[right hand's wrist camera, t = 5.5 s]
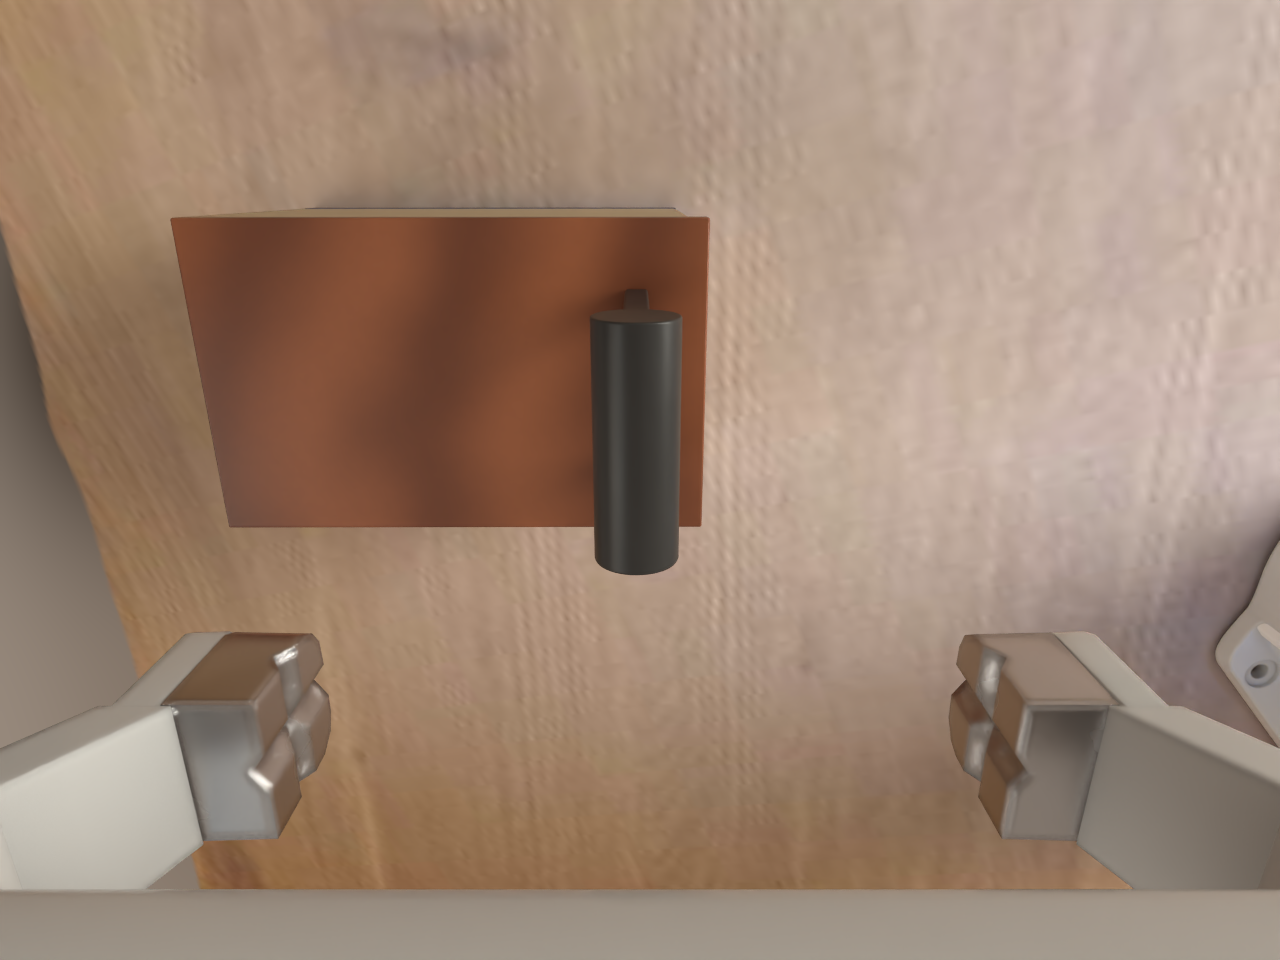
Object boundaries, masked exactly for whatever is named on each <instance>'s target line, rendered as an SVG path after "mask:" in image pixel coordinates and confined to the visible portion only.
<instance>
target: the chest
mask: <svg viewBox="0 0 1280 960" xmlns="http://www.w3.org/2000/svg"><path fill="white" fill-rule="evenodd" d="M193 217H687V216H686V215H684V214H682V213H681V212H679V211H677V210H676V209H675V208H307V209H297V210H283V211H268V212H253V213H238V214H223V215H208V216H193Z"/></svg>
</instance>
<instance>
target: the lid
mask: <svg viewBox="0 0 1280 960" xmlns="http://www.w3.org/2000/svg"><path fill="white" fill-rule="evenodd" d="M171 225H172V230H173V236H174V241H175V246H176V251H177V256H178V262H179V267H180V272H181V277H182V282H183V288H184V293H185V298H186V303H187V308H188V314H189V319H190V324H191V329H192V335H193V340H194V345H195V350H196V355H197V361H198V366H199V371H200V376H201V381H202V387H203V392H204V397H205V402H206V407H207V413H208V418H209V423H210V428H211V434H212V439H213V444H214V449H215V454H216V460H217V465H218V470H219V475H220V480H221V486H222V491H223V496H224V501H225V507H226V512H227V517H228V522H229V527H594V540H595V559H596V561H597V563H598V564H599V565H600V566H601V567H603V568H605V569H606V570H609V571H612V572H615V573H619V574H625V575H647V574H654V573H658V572H661V571H664V570H666V569H668V568H670V567H672V566H673V565H674V564H675V563H676V561H677V559H678V544H679V527H700V526H701V521H702V485H703V449H704V414H705V378H706V342H707V306H708V270H709V235H710V219H709V218H708V217H178V218H171Z"/></svg>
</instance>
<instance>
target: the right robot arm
mask: <svg viewBox="0 0 1280 960" xmlns="http://www.w3.org/2000/svg"><path fill="white" fill-rule="evenodd" d="M1215 658H1216V661H1217V663H1218V665H1219V666H1220V667H1221V669H1222V670H1223V672H1224V673H1225V674H1226V676H1227V677H1228V678H1229V680H1230V681H1231V683H1232V684H1233V685H1234V687H1235V688H1236V690H1237V691H1238V692H1239V694H1240V695H1241V696H1242V698H1243V699H1244V701H1245V702H1246V703H1247V705H1248V706H1249V708H1250V709H1251V710H1252V712H1253V713H1254V714H1255V716H1256V717H1257V719H1258V720H1259V721H1260V723H1261V724H1262V725H1263V727H1264V728H1265V730H1266V731H1267V732H1268V734H1269V735H1270V737H1271V738H1272V739H1273V741H1274V742H1275V743H1276V745H1277V746H1278V748H1277V747H1275V746H1273V745H1270V744H1268V743H1266V742H1263V741H1261V740H1259V739H1256V738H1254V737H1252V736H1250V735H1247V734H1245V733H1243V732H1240V731H1238V730H1236V729H1234V728H1231V727H1229V726H1227V725H1224V724H1222V723H1220V722H1217V721H1215V720H1213V719H1211V718H1208V717H1206V716H1204V715H1201V714H1199V713H1197V712H1195V711H1192V710H1190V709H1188V708H1185V707H1183V706H1168V705H1167V704H1166V703H1165V702H1164V701H1163V700H1162V699H1161V698H1160V697H1159V696H1158V695H1157V694H1156V693H1155V692H1154V691H1153V690H1152V689H1151V688H1150V687H1149V686H1148V685H1147V684H1146V683H1145V682H1144V681H1143V680H1142V679H1141V678H1139V677H1138V676H1137V675H1136V674H1135V673H1134V672H1133V671H1132V670H1131V669H1130V668H1129V667H1128V666H1127V665H1126V664H1125V663H1124V662H1123V661H1122V660H1121V659H1120V658H1119V657H1118V656H1117V655H1116V654H1115V653H1114V652H1113V651H1112V650H1111V649H1110V648H1109V647H1108V646H1107V645H1106V644H1105V643H1104V642H1102V641H1101V640H1100V639H1099V638H1098V637H1097V636H1096V635H1094V634H1091V633H1089V632H1086V631H1078V632H1054V633H1012V634H974V635H965V636H964V638H963V640H962V642H961V644H960V647H959V652H958V658H957V663H956V665H957V666H958V668H959V669H960V671H961V672H962V674H963V676H964V677H965V679H966V680H965V681H964V682H963V683H962V684H961V685H960V687H959V688H958V689H957V690H956V691H955V692H954V693H953V694H952V695H951V703H950V712H949V725H950V736H951V742H952V745H953V748H954V751H955V755H956V757H957V759H958V761H959V763H960V765H961V766H962V768H963V770H964V771H965V772H967V773H968V774H970V775H971V776H973V777H974V778H976V779H977V780H979V781H980V782H981V784H980V790H979V795H978V797H979V799H980V801H981V803H982V804H983V806H984V808H985V810H986V812H987V813H988V815H989V817H990V819H991V820H992V822H993V824H994V826H995V827H996V829H997V831H998V833H999V835H1000V836H1001V838H1002V839H1029V840H1065V841H1077V845H1078V846H1079V847H1081V848H1082V849H1083V850H1085V851H1086V852H1087V853H1088V854H1090V855H1091V856H1092V857H1094V858H1095V859H1096V860H1097V861H1099V862H1100V863H1101V864H1103V865H1104V866H1105V867H1106V868H1108V869H1109V870H1110V871H1112V872H1113V873H1114V874H1115V875H1117V876H1118V877H1119V878H1121V879H1122V880H1123V881H1124V882H1126V883H1127V884H1128V885H1130V886H1131V887H1132V888H1133V889H147V888H148V887H149V886H151V885H152V884H153V883H154V882H156V881H157V880H158V879H160V878H161V877H162V876H163V875H165V874H166V873H167V872H169V871H170V870H171V869H173V868H174V867H175V866H176V865H178V864H179V863H180V862H182V861H183V860H184V859H185V858H187V857H188V856H189V855H191V854H192V853H193V852H194V851H196V850H197V849H198V848H200V847H201V846H202V845H203V841H215V840H250V839H278V838H279V836H280V835H281V833H282V831H283V829H284V828H285V826H286V824H287V822H288V820H289V819H290V817H291V815H292V813H293V812H294V810H295V808H296V806H297V804H298V803H299V801H300V799H301V797H302V795H301V790H300V784H299V782H300V781H301V780H303V779H304V778H306V777H307V776H309V775H310V774H312V773H313V772H315V771H316V770H317V768H318V766H319V764H320V763H321V761H322V759H323V757H324V755H325V752H326V748H327V744H328V739H329V735H330V731H331V709H330V702H329V695H328V694H327V693H326V692H325V691H324V690H323V689H322V688H321V687H320V686H319V684H318V683H317V682H316V681H315V680H314V679H315V677H316V676H317V674H318V672H319V671H320V669H321V668H322V666H323V665H324V664H323V658H322V653H321V648H320V643H319V641H318V640H317V639H316V638H315V636H314V635H313V634H303V633H252V632H235V633H232V632H195V633H189V634H185V635H184V636H183V637H182V638H181V639H180V640H179V641H178V642H177V643H176V644H175V645H174V646H173V647H172V648H171V649H170V650H168V651H167V652H166V653H165V654H164V655H163V656H162V657H161V658H160V659H159V660H158V661H157V662H156V663H155V664H154V665H153V666H152V667H151V668H150V669H149V670H148V671H147V672H146V673H145V674H144V675H143V676H142V677H141V678H140V679H139V680H138V681H137V682H135V683H134V684H133V685H132V686H131V687H130V688H129V689H128V690H127V691H126V692H125V693H124V694H123V695H122V696H121V697H120V698H119V699H118V700H117V701H116V702H115V703H114V704H113V705H112V706H97V707H95V708H92V709H90V710H88V711H85V712H83V713H81V714H79V715H76V716H74V717H72V718H69V719H67V720H65V721H62V722H60V723H58V724H56V725H53V726H51V727H49V728H46V729H44V730H42V731H39V732H37V733H35V734H33V735H30V736H28V737H26V738H23V739H21V740H19V741H16V742H14V743H12V744H10V745H7V746H5V747H3V748H0V960H1280V541H1279V542H1278V544H1277V545H1276V547H1275V548H1274V550H1273V552H1272V553H1271V555H1270V557H1269V559H1268V561H1267V563H1266V565H1265V568H1264V570H1263V572H1262V575H1261V578H1260V580H1259V583H1258V586H1257V588H1256V591H1255V594H1254V596H1253V598H1252V600H1251V602H1250V604H1249V606H1248V607H1247V609H1246V610H1245V611H1244V612H1243V613H1242V614H1241V615H1240V616H1239V617H1238V619H1237V620H1236V621H1235V622H1234V623H1233V624H1232V625H1231V627H1230V628H1229V629H1228V630H1227V632H1226V633H1225V634H1224V635H1223V637H1222V638H1221V640H1220V641H1219V643H1218V645H1217V647H1216V651H1215ZM1255 666H1256V667H1255ZM1254 667H1255V668H1254ZM1253 668H1254V669H1253Z"/></svg>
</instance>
